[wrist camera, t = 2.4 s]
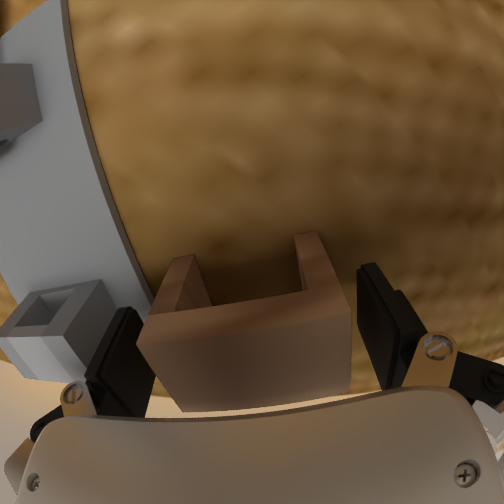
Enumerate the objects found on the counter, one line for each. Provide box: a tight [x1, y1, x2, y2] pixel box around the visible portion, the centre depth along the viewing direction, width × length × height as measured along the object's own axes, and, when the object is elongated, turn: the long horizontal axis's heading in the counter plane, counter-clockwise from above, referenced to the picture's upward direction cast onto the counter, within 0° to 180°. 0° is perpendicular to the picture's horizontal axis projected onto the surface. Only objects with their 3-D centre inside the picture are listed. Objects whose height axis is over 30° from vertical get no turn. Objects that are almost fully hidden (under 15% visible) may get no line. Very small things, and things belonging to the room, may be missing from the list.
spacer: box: [136, 231, 352, 412], centre depth 11 cm, size 6×4×5 cm, turn 102°
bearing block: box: [0, 0, 154, 383], centre depth 10 cm, size 10×20×5 cm, turn 12°
